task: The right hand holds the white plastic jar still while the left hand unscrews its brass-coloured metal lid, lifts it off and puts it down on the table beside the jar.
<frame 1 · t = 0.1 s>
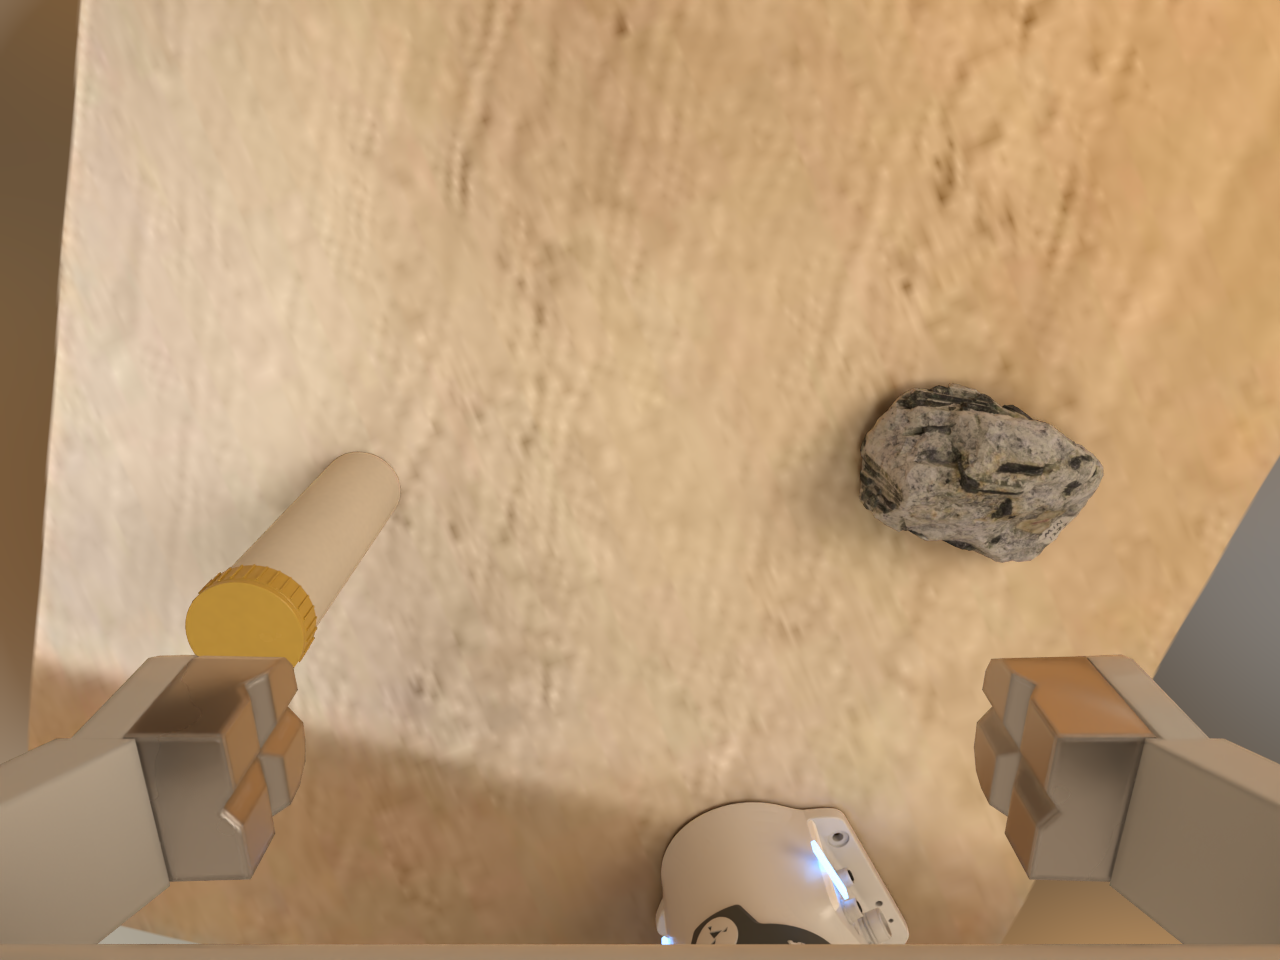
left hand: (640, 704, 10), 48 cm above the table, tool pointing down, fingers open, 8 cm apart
lid: (247, 630, 43), point 19 cm above the table, screwed on, not yet turned
jar: (362, 487, 61), on the table
rock: (962, 464, 60), on the table
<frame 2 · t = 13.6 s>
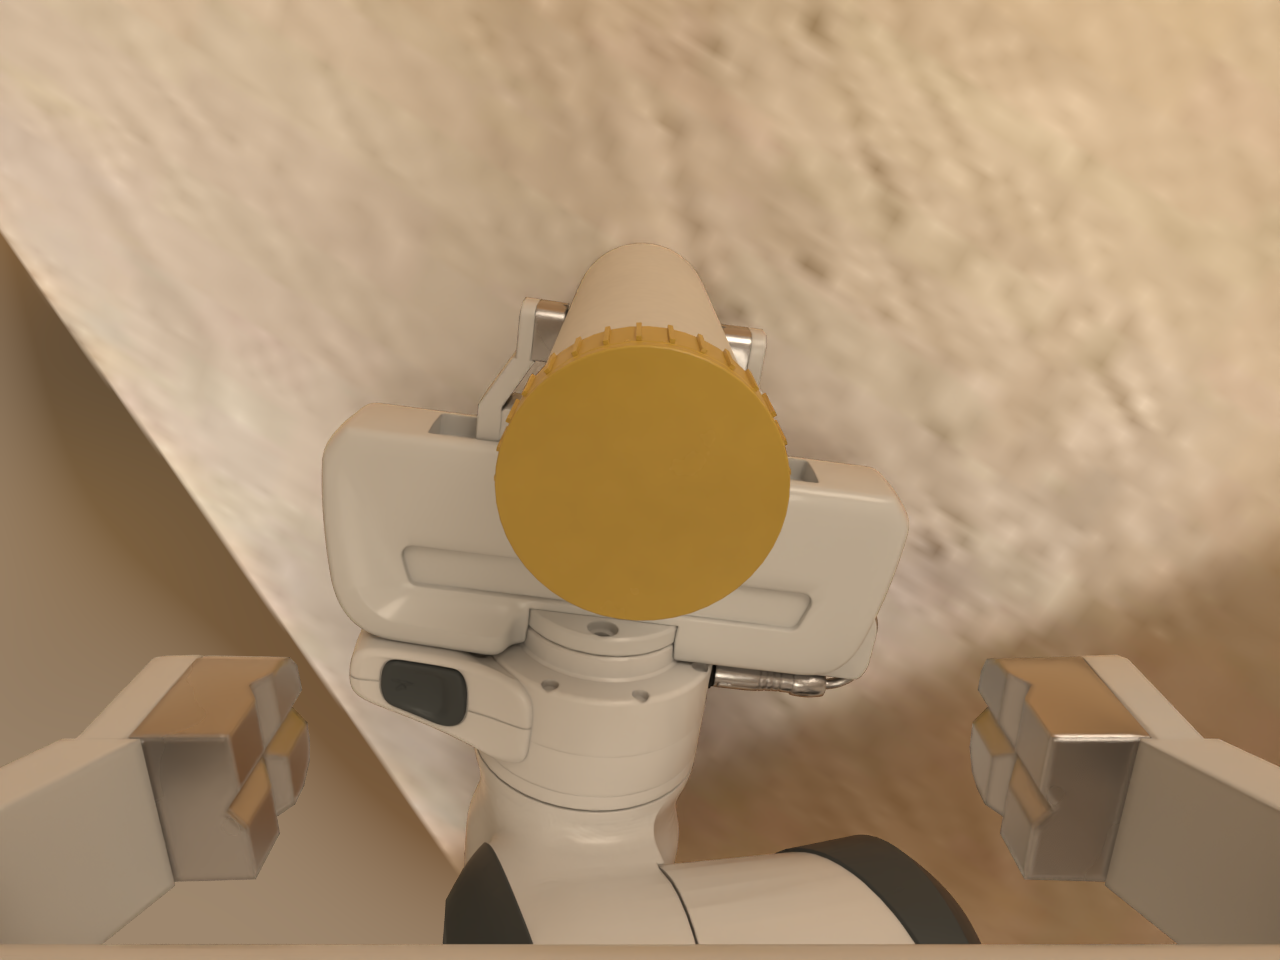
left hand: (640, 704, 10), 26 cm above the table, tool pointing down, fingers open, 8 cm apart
right hand: (643, 315, 29), fingers closed on jar, 5 cm apart
lid: (642, 485, 17), point 19 cm above the table, screwed on, not yet turned
jar: (641, 311, 35), on the table, touching right hand
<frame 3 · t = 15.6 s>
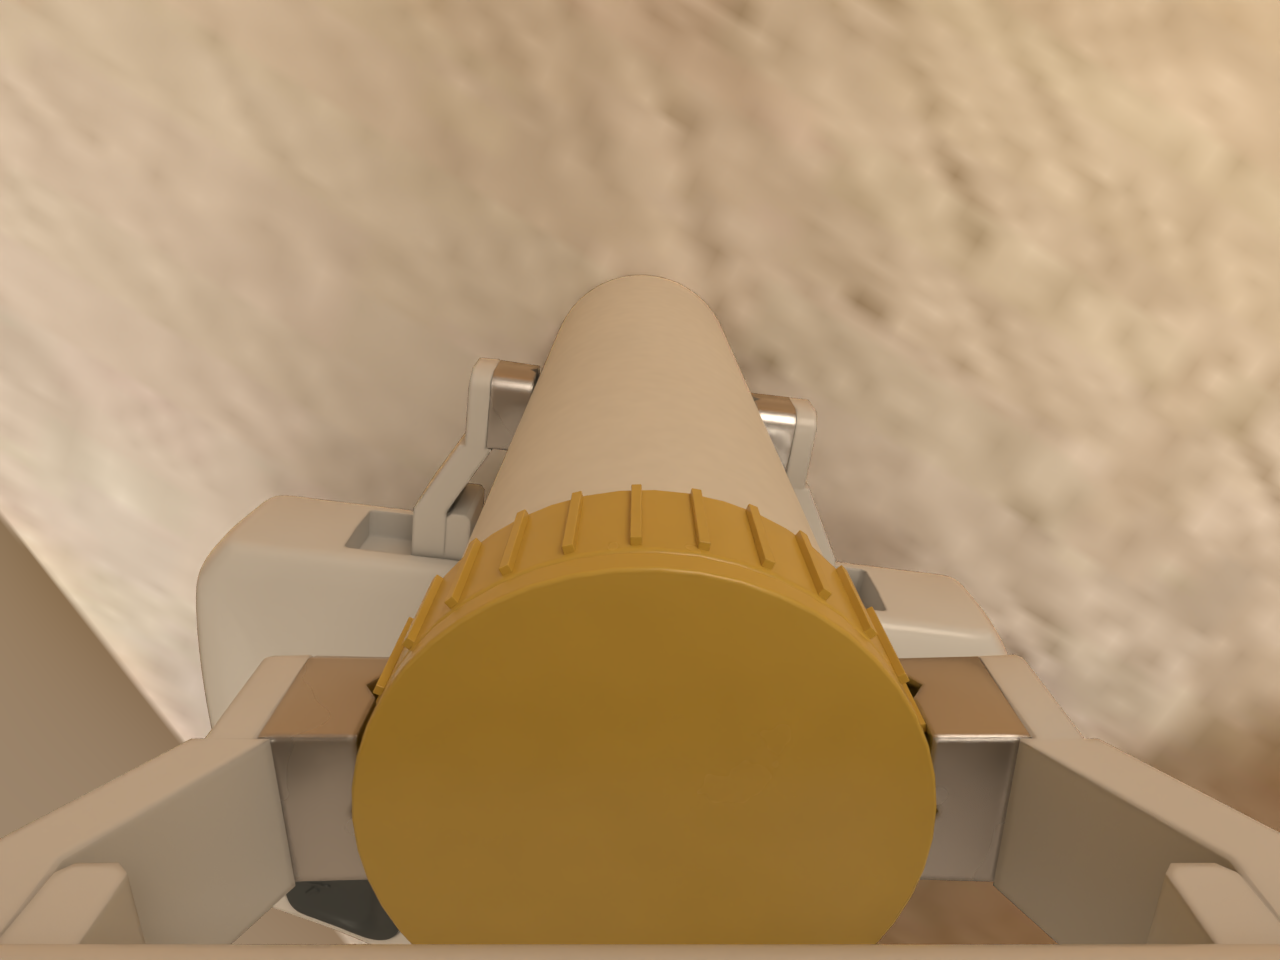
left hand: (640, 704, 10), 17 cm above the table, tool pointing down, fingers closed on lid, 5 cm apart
lid: (643, 805, 9), point 19 cm above the table, screwed on, not yet turned, touching left hand
jar: (640, 363, 27), on the table, touching right hand
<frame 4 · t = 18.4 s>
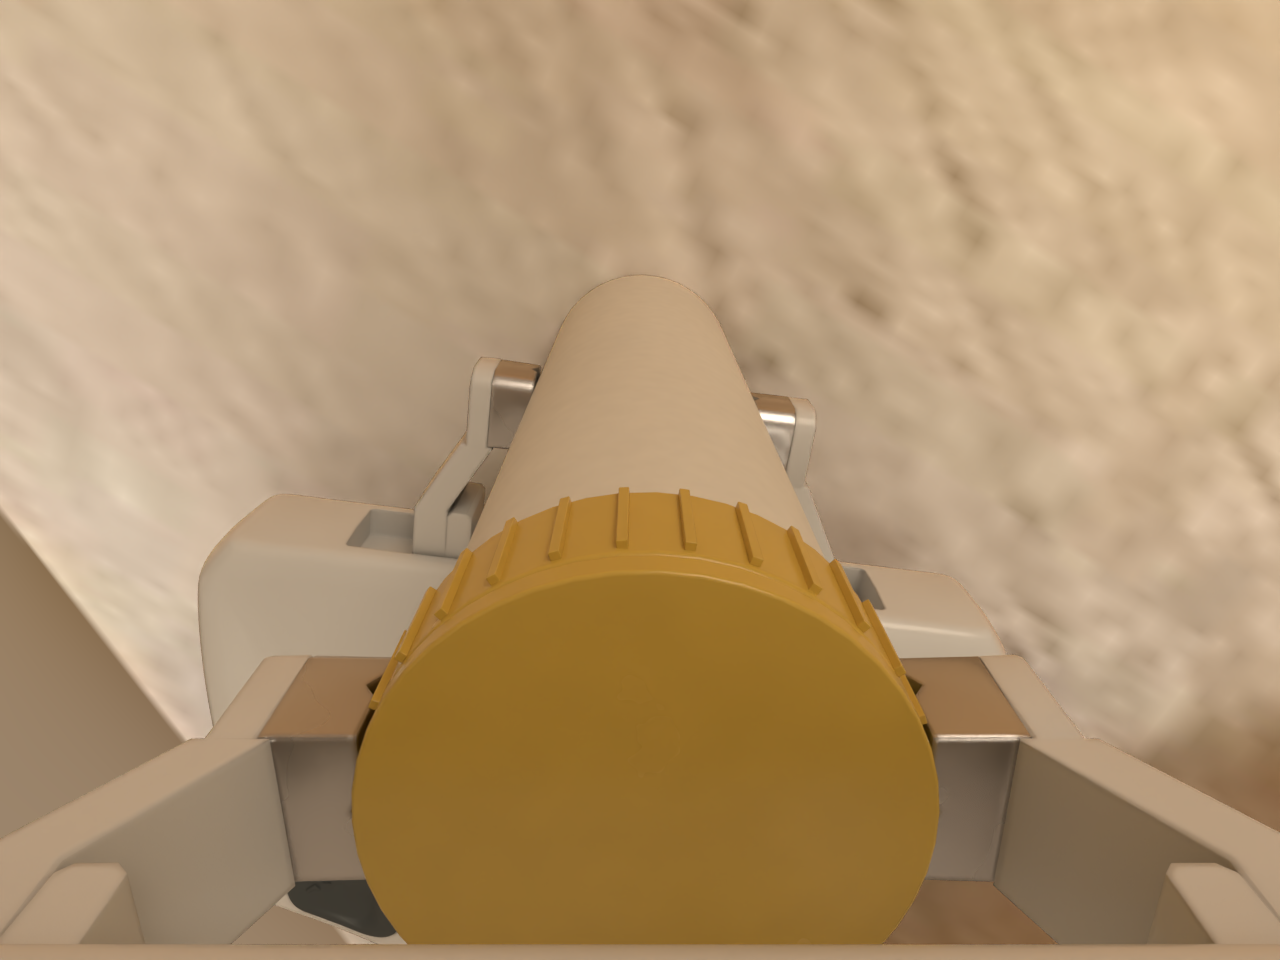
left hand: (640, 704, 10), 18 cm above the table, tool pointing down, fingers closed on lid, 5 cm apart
lid: (645, 809, 9), point 19 cm above the table, turned 53° so far, risen 0.1 cm, still on its thread, touching left hand
jar: (640, 362, 27), on the table, touching right hand
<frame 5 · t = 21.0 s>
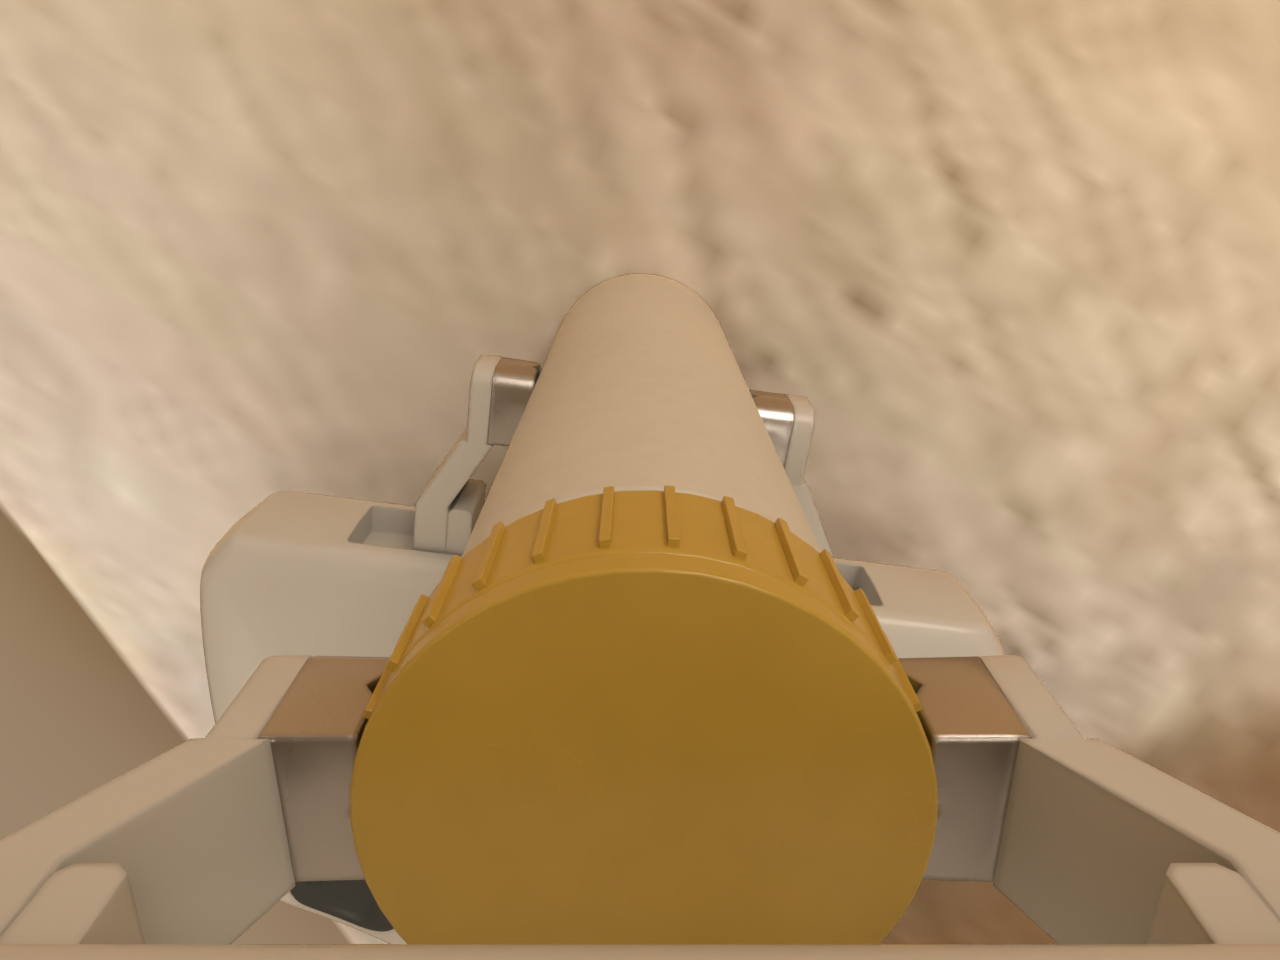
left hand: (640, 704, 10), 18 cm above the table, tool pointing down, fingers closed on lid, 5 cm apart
lid: (643, 807, 9), point 19 cm above the table, turned 105° so far, risen 0.3 cm, still on its thread, touching left hand
jar: (640, 360, 27), on the table, touching right hand
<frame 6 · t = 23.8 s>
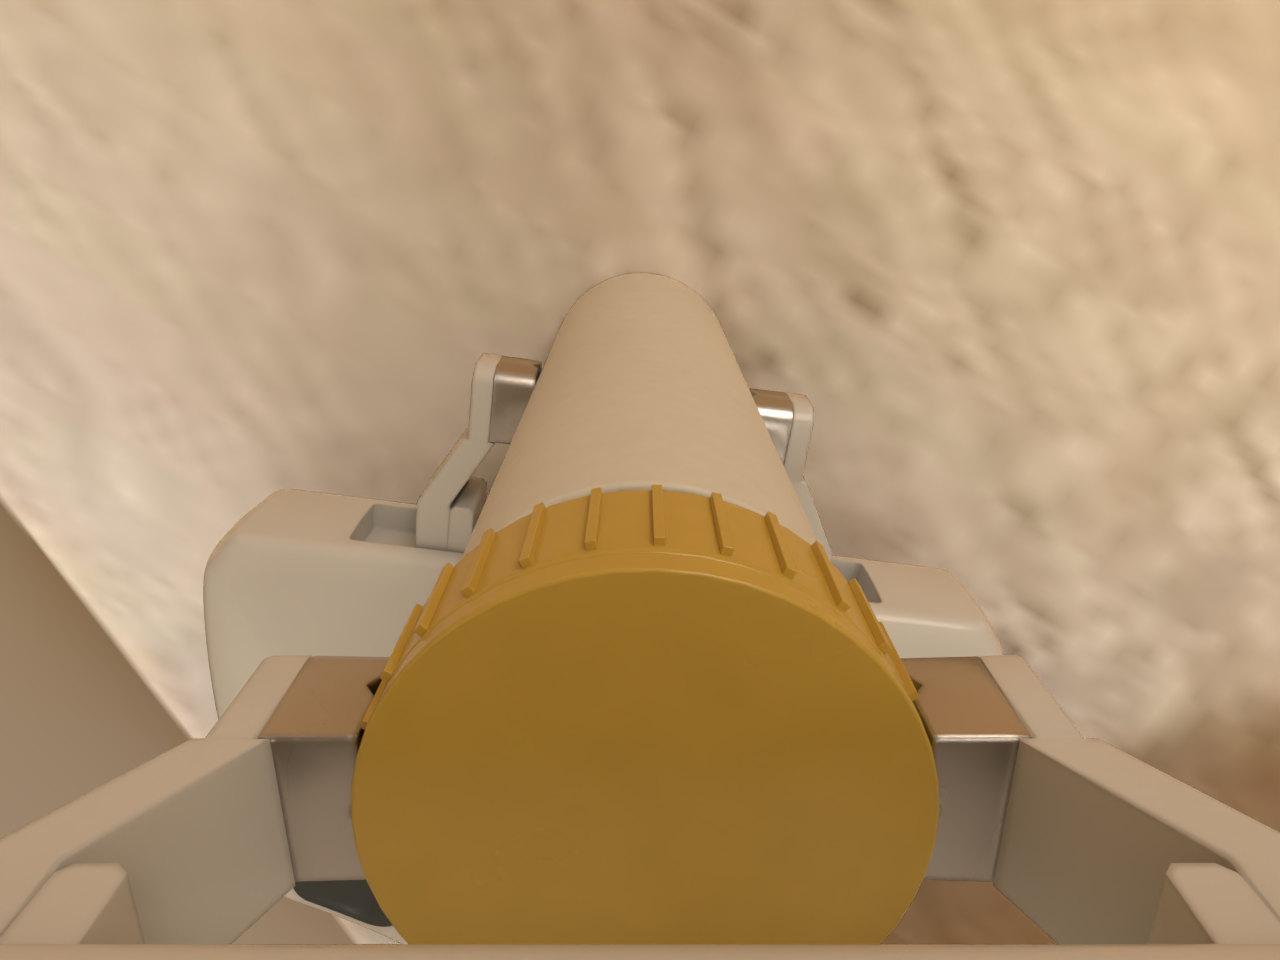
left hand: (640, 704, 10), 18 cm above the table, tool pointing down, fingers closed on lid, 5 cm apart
lid: (644, 807, 9), point 20 cm above the table, turned 157° so far, risen 0.5 cm, still on its thread, touching left hand
jar: (640, 359, 27), on the table, touching right hand
when the left hand's fingers open (2 cm above the table, at t = 30.0 s): lid drops 2 cm, point 2 cm above the table.
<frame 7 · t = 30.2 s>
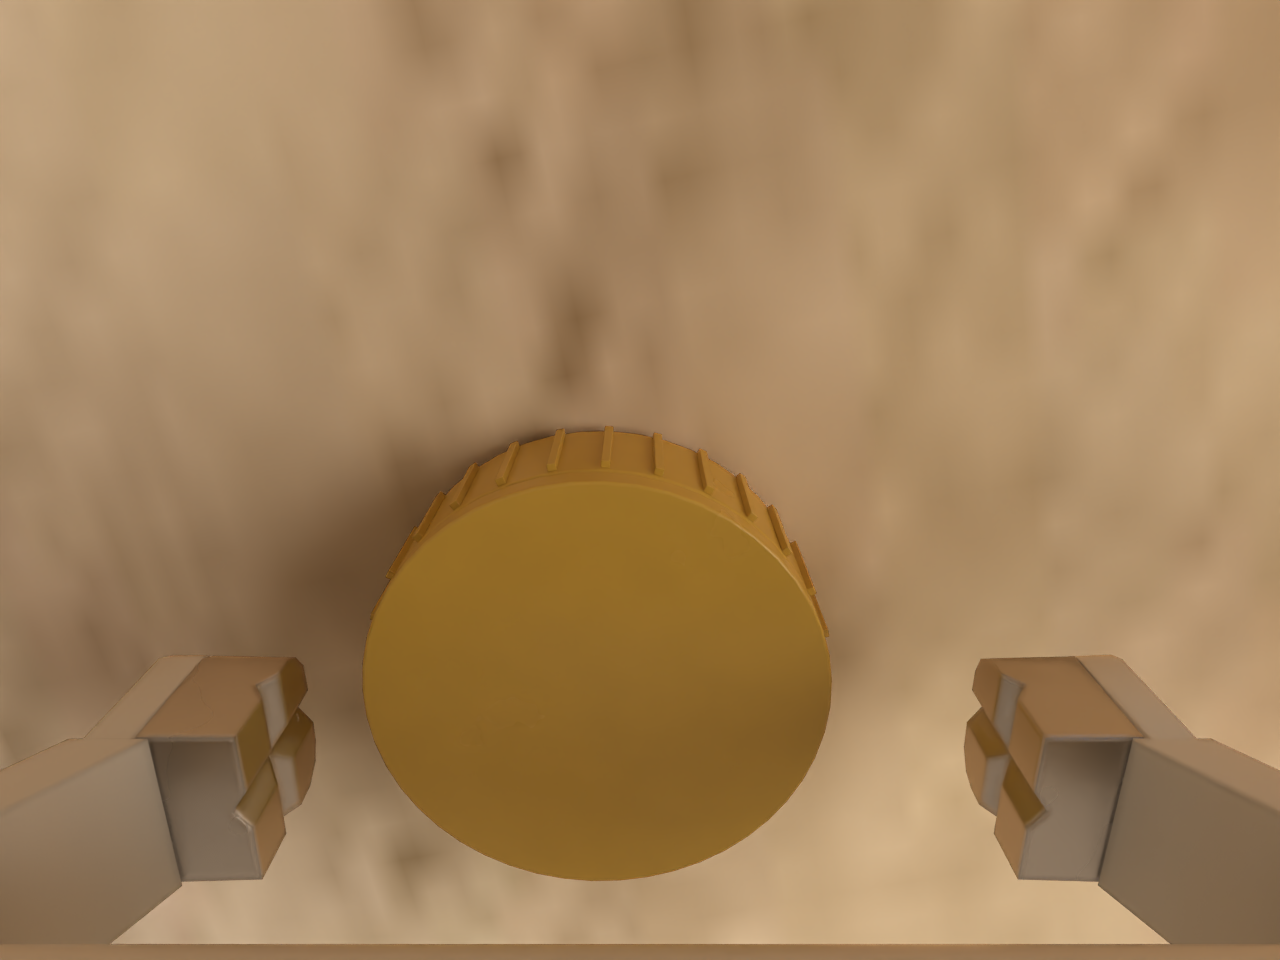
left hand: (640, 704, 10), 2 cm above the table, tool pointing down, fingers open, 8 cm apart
lid: (598, 684, 11), point 2 cm above the table, off its thread
when the right hand's fingers open (6 cm above the table, at t = 31.0 s): jar stays where it is, on the table.
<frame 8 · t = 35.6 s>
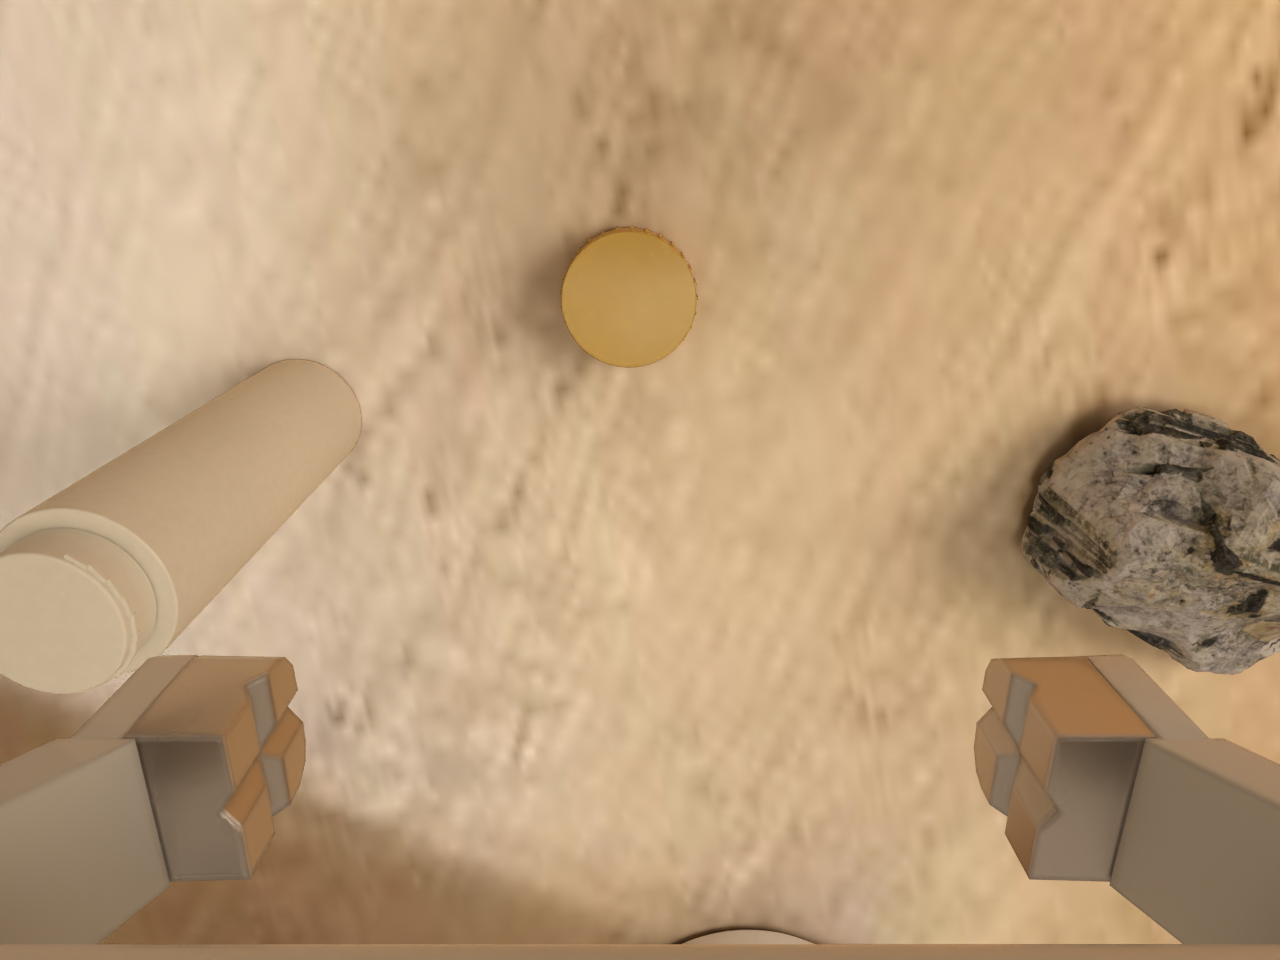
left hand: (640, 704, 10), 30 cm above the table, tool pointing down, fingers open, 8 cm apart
lid: (628, 300, 37), point 2 cm above the table, off its thread
jar: (304, 414, 41), on the table
rock: (1166, 526, 43), on the table
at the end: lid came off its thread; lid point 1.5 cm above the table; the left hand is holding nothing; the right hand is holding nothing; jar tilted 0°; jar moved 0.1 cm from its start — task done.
